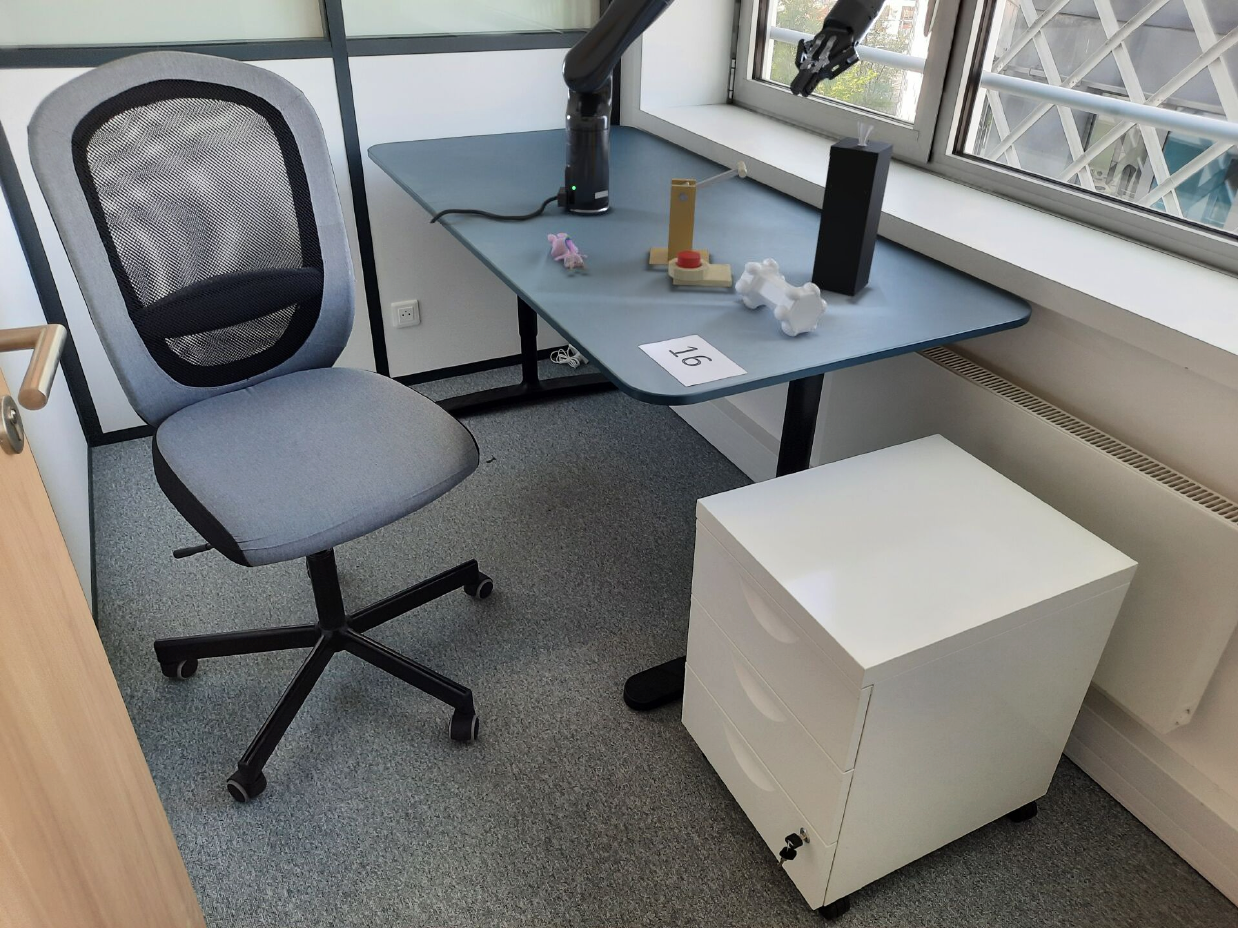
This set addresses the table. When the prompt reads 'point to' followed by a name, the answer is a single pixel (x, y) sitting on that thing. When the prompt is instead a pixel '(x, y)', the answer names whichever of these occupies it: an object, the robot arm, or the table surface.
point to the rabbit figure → (566, 250)
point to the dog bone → (781, 297)
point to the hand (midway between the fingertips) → (798, 93)
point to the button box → (701, 274)
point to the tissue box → (851, 212)
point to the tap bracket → (679, 224)
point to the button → (689, 259)
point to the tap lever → (722, 176)
